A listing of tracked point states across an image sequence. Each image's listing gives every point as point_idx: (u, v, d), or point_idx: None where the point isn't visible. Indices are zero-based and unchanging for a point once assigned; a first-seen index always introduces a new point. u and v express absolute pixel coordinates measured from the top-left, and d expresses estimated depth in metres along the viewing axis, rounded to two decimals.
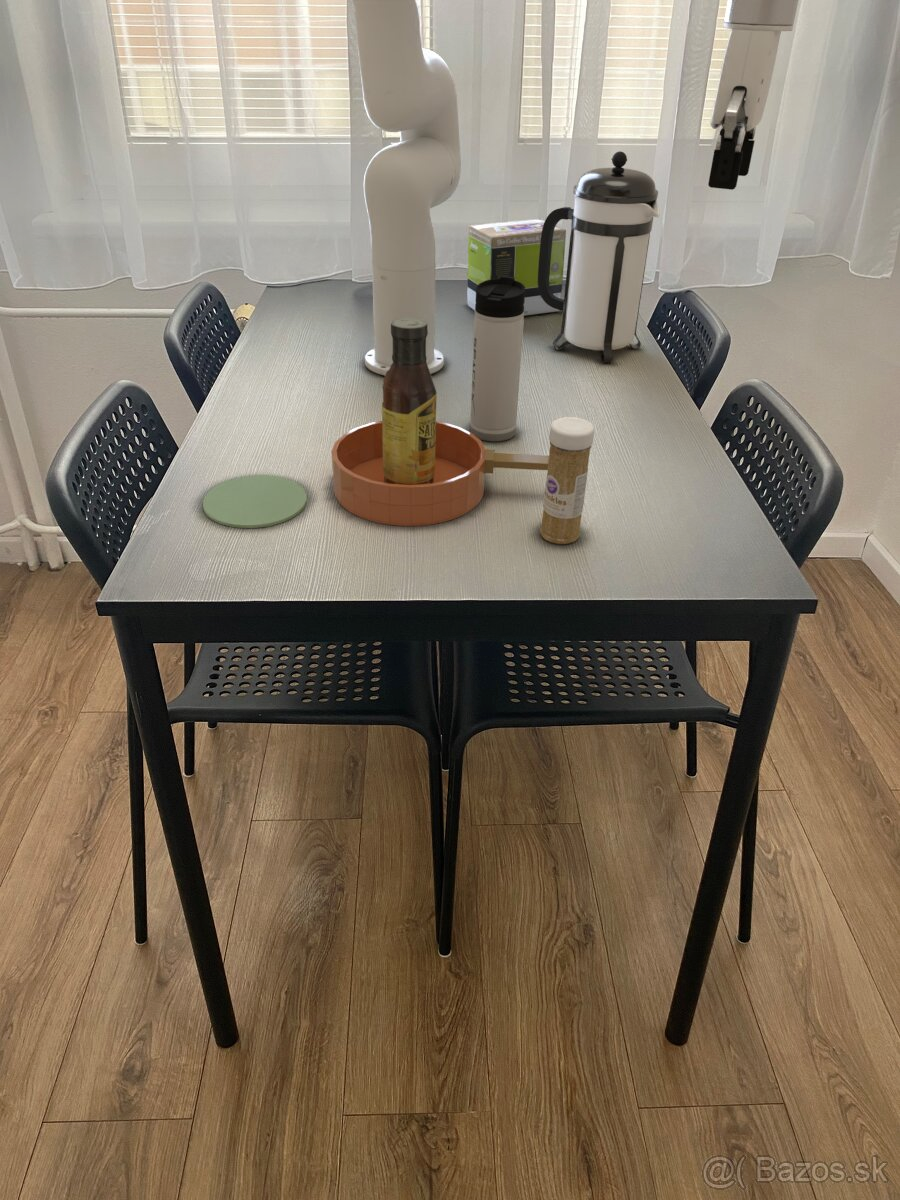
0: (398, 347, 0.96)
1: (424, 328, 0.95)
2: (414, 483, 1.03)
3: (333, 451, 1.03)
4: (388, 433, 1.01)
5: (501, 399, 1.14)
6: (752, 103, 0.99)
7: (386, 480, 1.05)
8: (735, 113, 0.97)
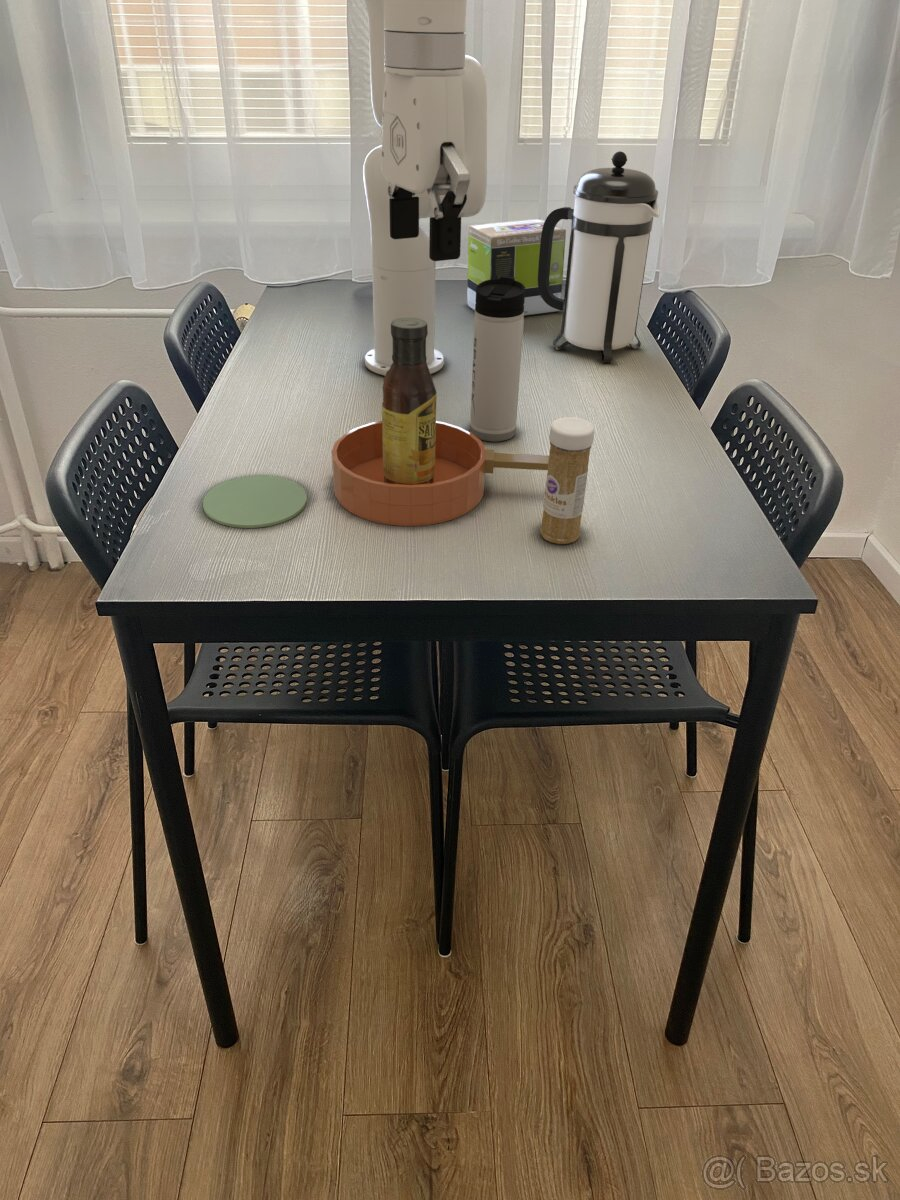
0: (398, 347, 0.96)
1: (424, 328, 0.95)
2: (414, 483, 1.03)
3: (333, 451, 1.03)
4: (388, 433, 1.01)
5: (501, 399, 1.14)
6: (462, 160, 0.83)
7: (386, 480, 1.05)
8: (468, 175, 0.81)
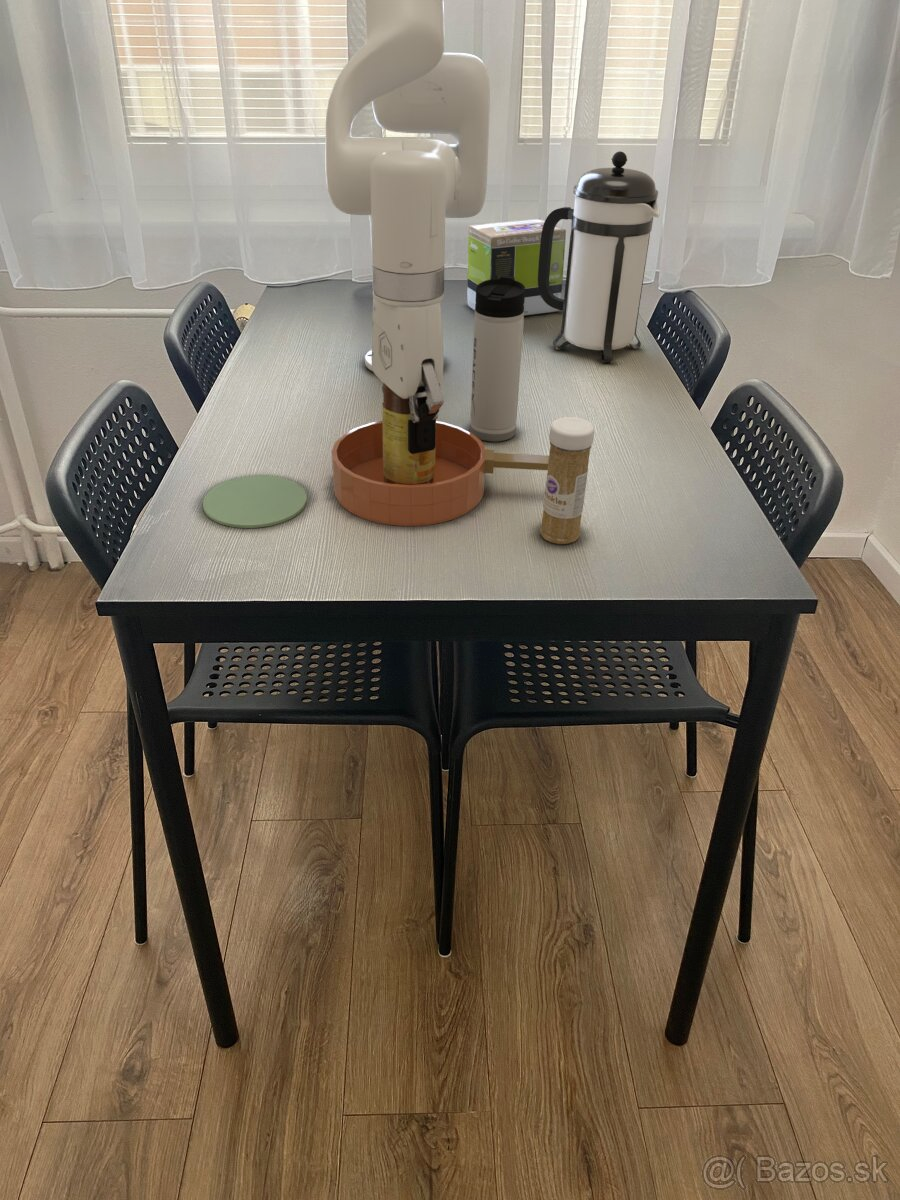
0: None
1: None
2: (414, 483, 1.03)
3: (333, 451, 1.03)
4: (388, 433, 1.01)
5: (501, 399, 1.14)
6: (441, 371, 0.95)
7: (386, 480, 1.05)
8: (442, 400, 0.93)
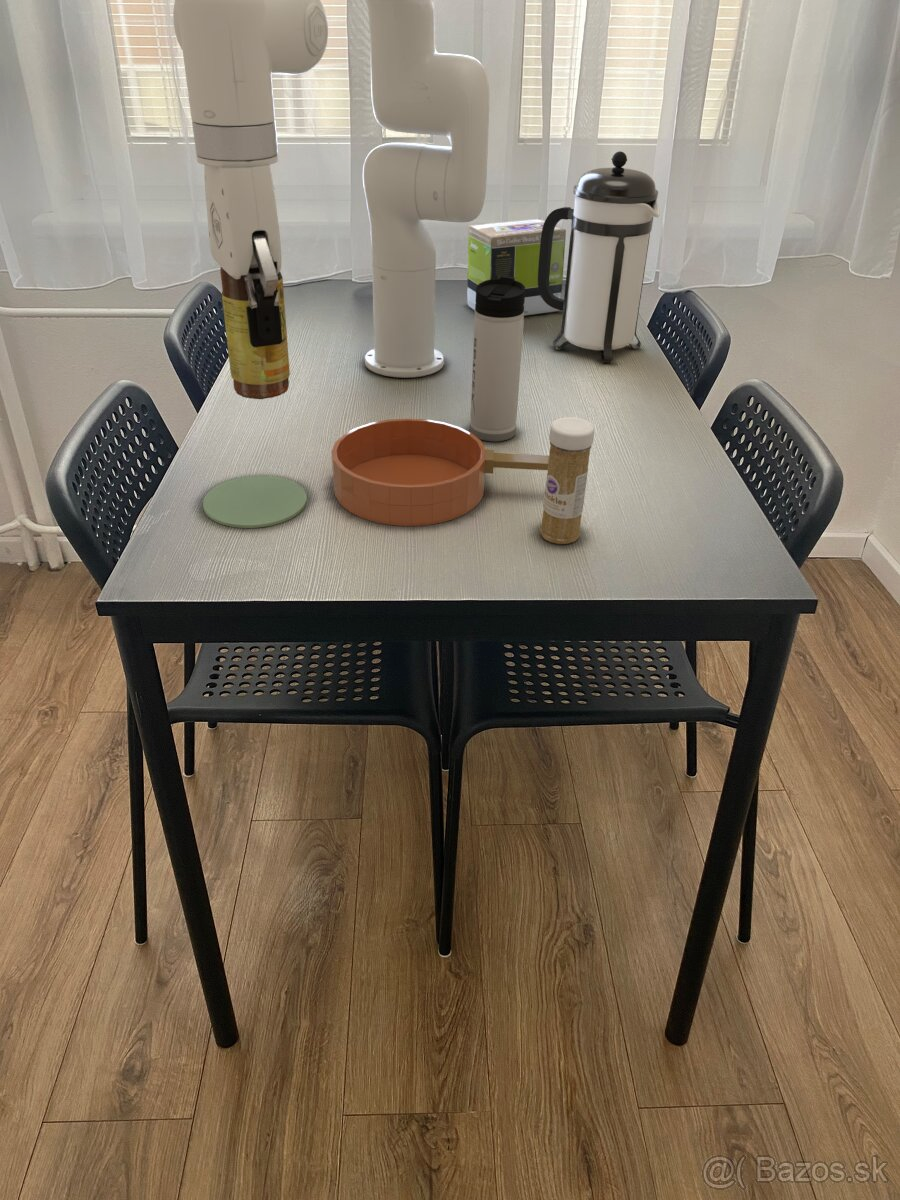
0: None
1: None
2: (262, 384, 0.92)
3: (333, 451, 1.03)
4: (229, 325, 0.90)
5: (501, 399, 1.14)
6: (277, 246, 0.84)
7: (234, 382, 0.94)
8: (276, 278, 0.82)
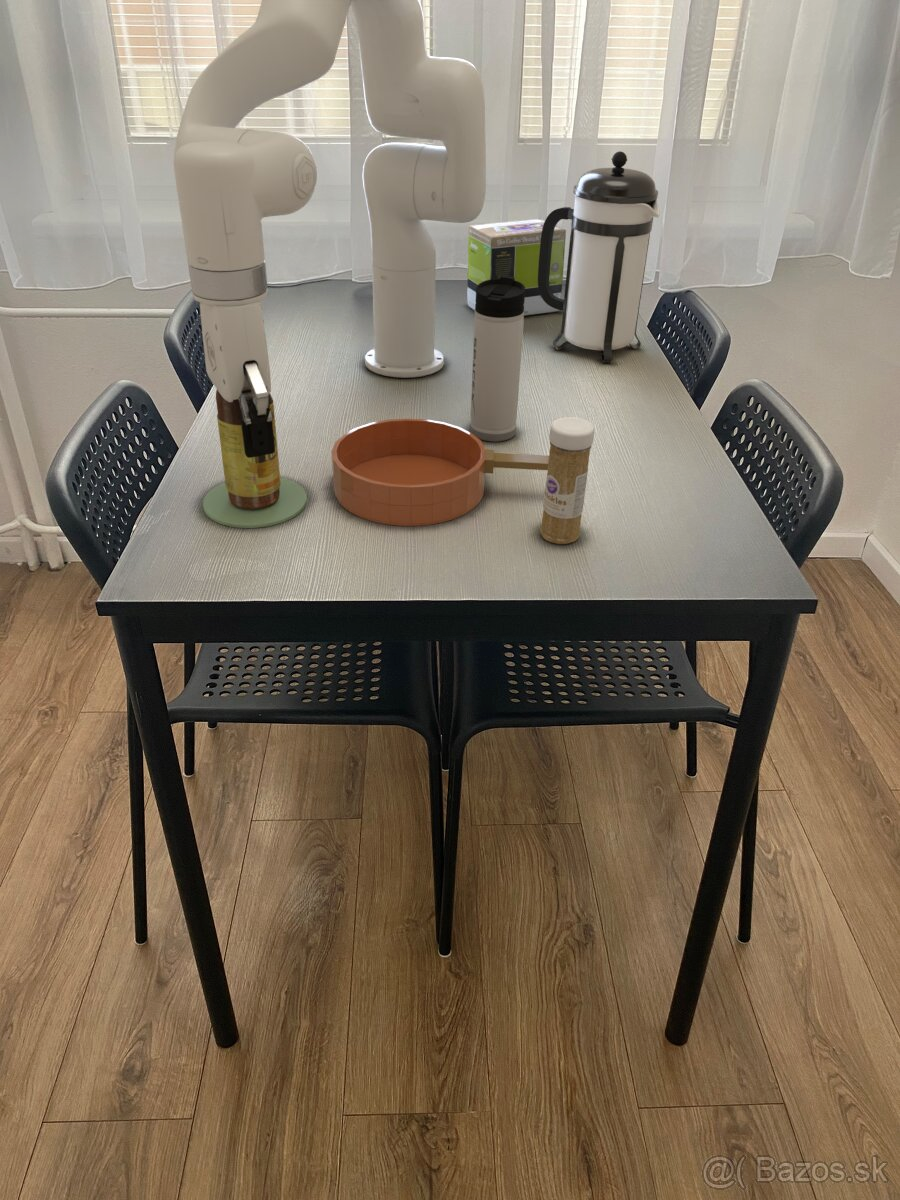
0: None
1: None
2: (255, 496, 0.99)
3: (333, 451, 1.03)
4: (223, 445, 0.97)
5: (501, 399, 1.14)
6: (267, 373, 0.90)
7: (228, 493, 1.01)
8: (266, 394, 0.88)
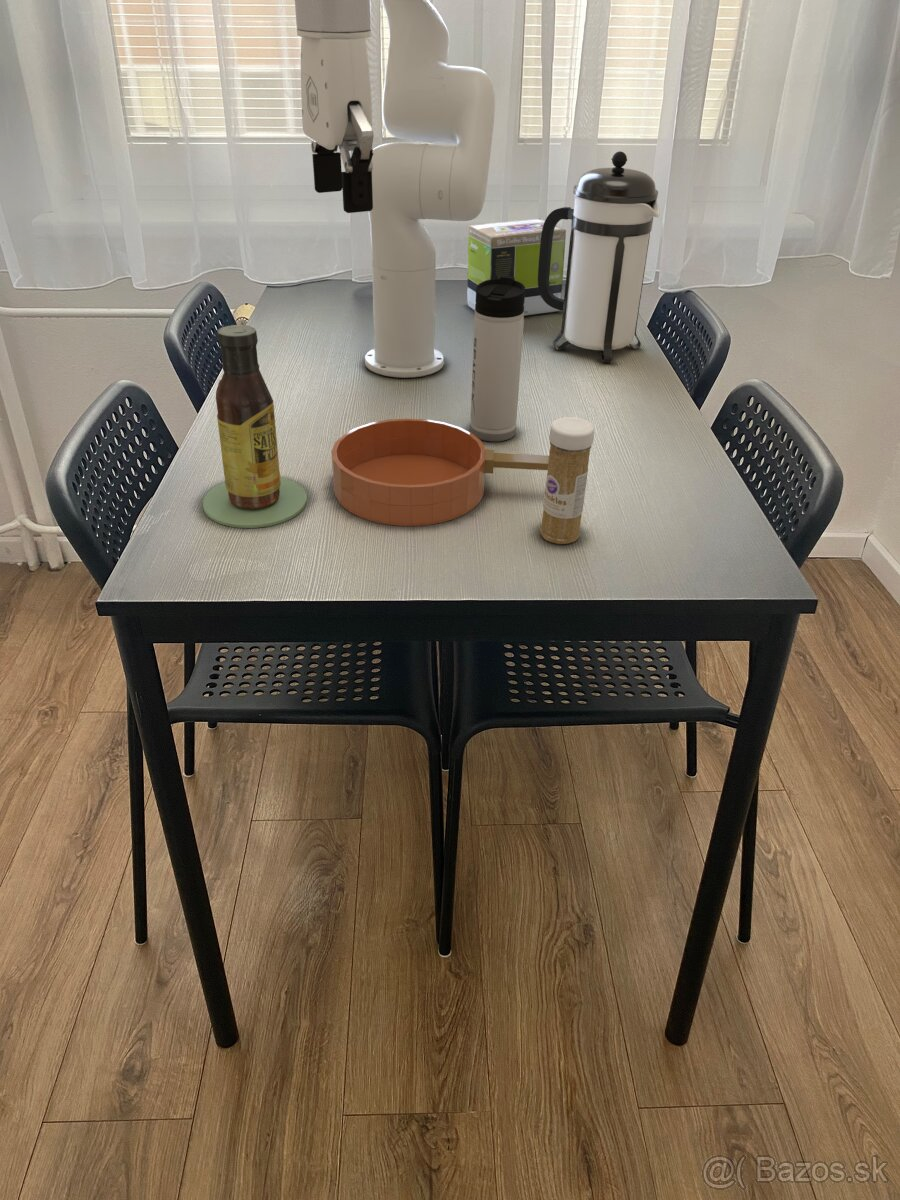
0: (225, 356, 0.92)
1: (251, 336, 0.91)
2: (255, 496, 0.99)
3: (333, 451, 1.03)
4: (223, 445, 0.97)
5: (501, 399, 1.14)
6: (369, 117, 0.90)
7: (228, 493, 1.01)
8: (372, 132, 0.88)
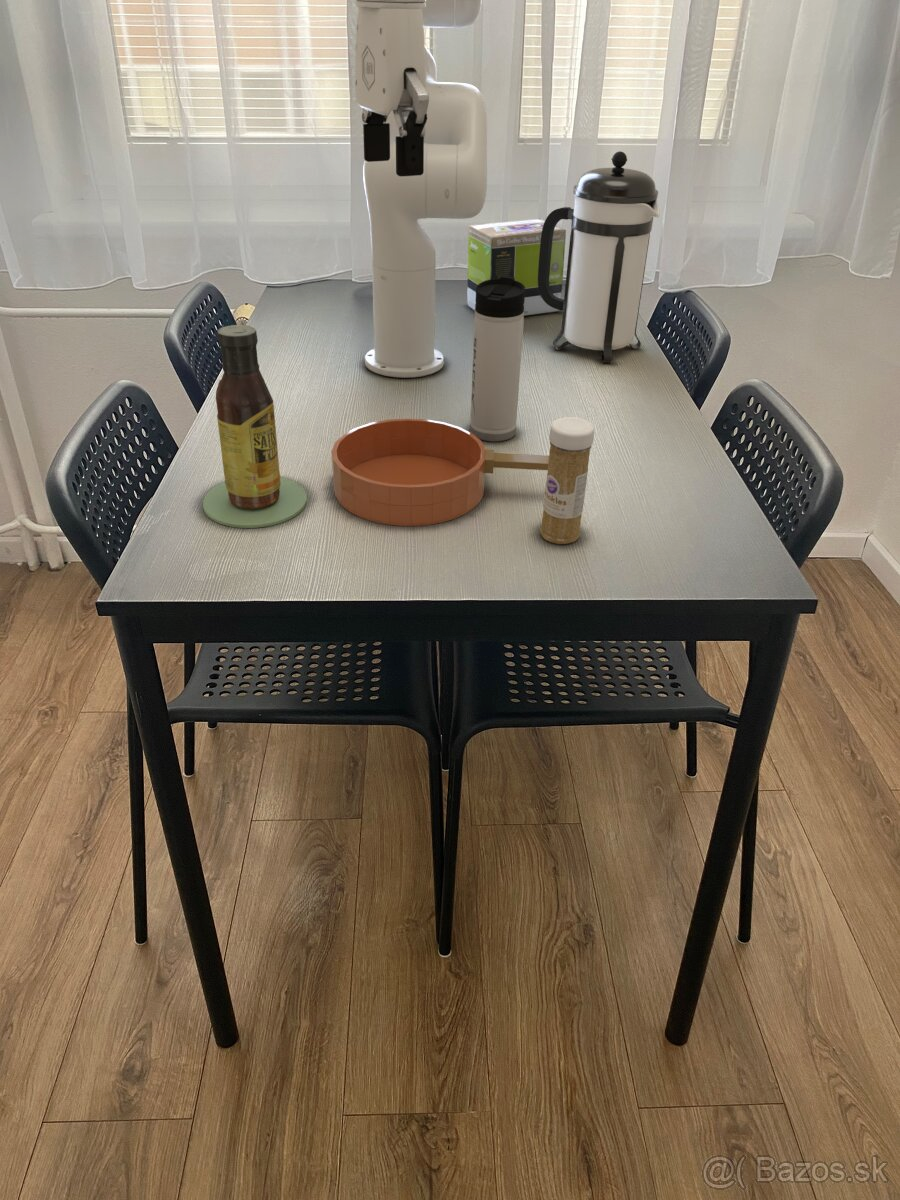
0: (225, 356, 0.92)
1: (251, 336, 0.91)
2: (255, 496, 0.99)
3: (333, 451, 1.03)
4: (223, 445, 0.97)
5: (501, 399, 1.14)
6: (423, 84, 0.95)
7: (228, 493, 1.01)
8: (427, 96, 0.93)
